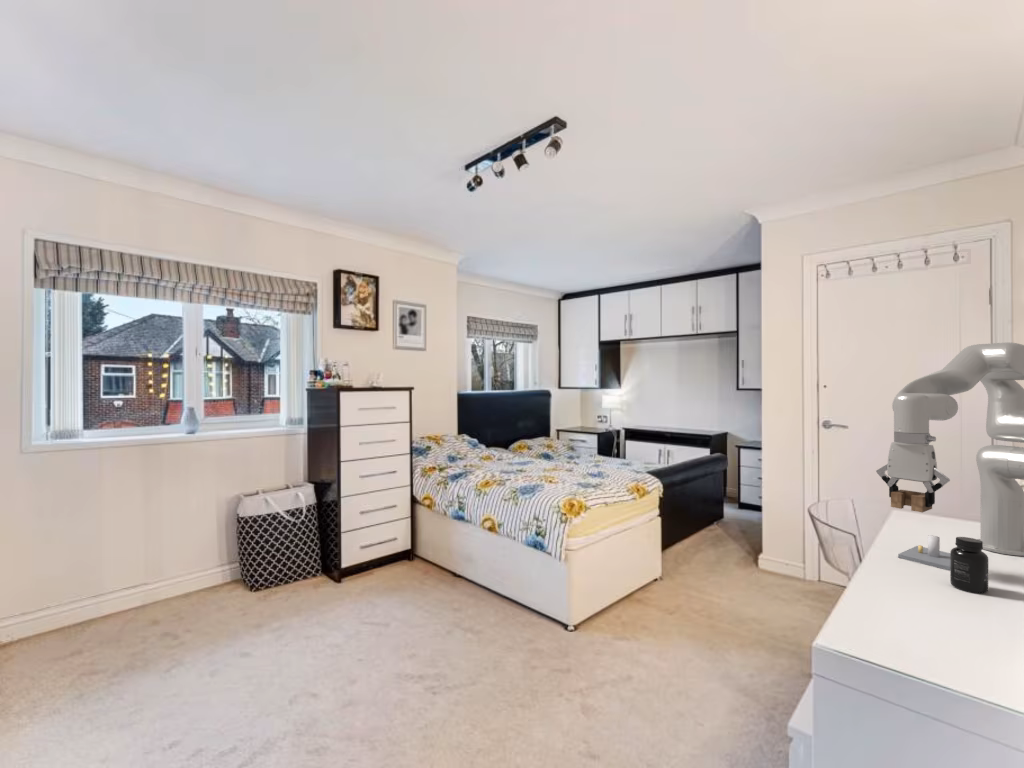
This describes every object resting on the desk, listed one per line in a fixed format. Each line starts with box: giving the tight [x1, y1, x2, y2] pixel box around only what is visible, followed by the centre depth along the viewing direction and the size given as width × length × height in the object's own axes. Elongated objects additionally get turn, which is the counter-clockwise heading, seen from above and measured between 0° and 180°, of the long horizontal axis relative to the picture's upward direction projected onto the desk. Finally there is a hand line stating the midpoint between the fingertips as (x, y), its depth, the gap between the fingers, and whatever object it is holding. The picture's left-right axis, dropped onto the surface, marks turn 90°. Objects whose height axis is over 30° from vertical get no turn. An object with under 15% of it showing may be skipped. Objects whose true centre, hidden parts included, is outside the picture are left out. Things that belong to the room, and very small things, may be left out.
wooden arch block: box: [890, 489, 933, 513], centre depth 133 cm, size 7×7×4 cm
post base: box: [897, 535, 950, 571], centre depth 138 cm, size 14×12×6 cm
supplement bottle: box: [949, 536, 989, 594], centre depth 119 cm, size 7×7×12 cm
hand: (911, 502), depth 133 cm, fingers closed on wooden arch block, 7 cm apart
